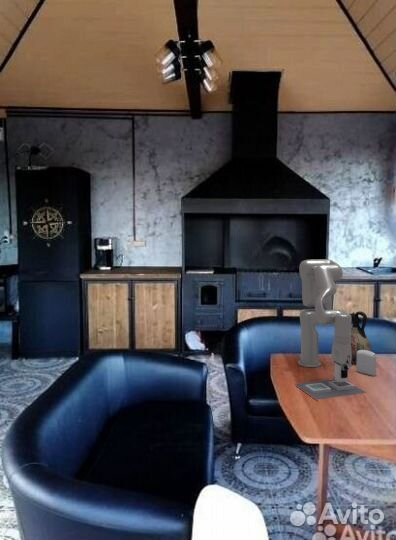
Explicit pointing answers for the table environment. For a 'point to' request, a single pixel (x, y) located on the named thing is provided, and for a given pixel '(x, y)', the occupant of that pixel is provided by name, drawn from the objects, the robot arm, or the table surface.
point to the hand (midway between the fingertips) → (341, 375)
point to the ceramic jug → (358, 335)
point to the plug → (339, 373)
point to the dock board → (329, 389)
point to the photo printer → (366, 362)
